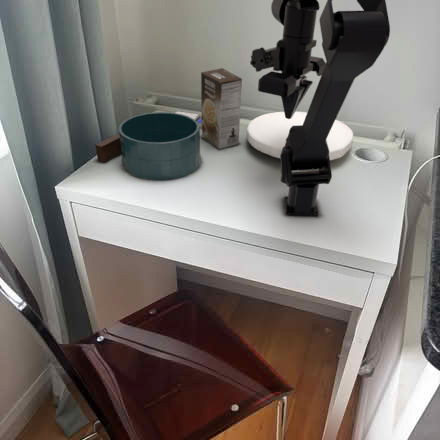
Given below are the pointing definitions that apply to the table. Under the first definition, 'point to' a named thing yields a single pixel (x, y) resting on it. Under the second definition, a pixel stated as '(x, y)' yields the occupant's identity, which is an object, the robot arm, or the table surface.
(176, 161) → the bowl
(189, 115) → the smartphone
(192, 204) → the table surface
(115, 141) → the back rail
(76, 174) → the table surface
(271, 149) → the plate
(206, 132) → the coffee box
